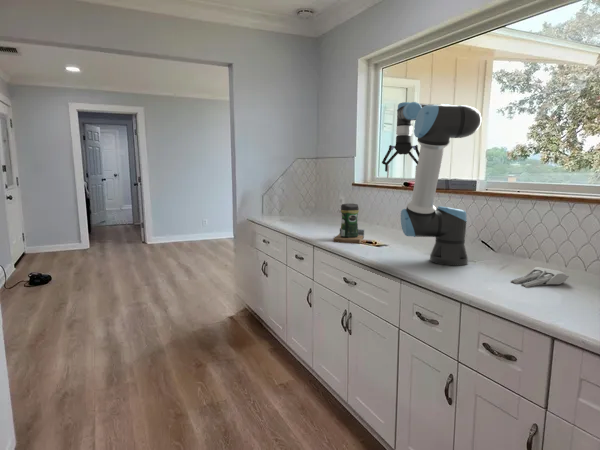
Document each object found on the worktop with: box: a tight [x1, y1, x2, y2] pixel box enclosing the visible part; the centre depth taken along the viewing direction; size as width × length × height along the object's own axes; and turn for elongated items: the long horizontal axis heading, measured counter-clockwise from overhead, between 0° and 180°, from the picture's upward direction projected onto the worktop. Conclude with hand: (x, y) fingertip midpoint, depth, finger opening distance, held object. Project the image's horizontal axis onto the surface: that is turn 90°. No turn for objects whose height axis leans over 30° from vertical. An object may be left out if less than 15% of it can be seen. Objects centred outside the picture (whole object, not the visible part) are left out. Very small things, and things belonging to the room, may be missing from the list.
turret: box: [510, 266, 570, 288], centre depth 132 cm, size 10×20×5 cm, turn 109°
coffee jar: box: [339, 203, 360, 238], centre depth 209 cm, size 10×8×19 cm
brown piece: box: [332, 227, 365, 245], centre depth 211 cm, size 20×14×5 cm
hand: (401, 178), depth 190 cm, fingers open, 13 cm apart
